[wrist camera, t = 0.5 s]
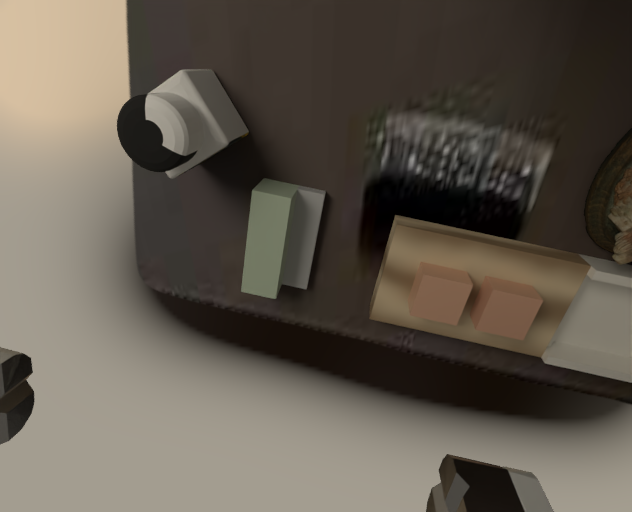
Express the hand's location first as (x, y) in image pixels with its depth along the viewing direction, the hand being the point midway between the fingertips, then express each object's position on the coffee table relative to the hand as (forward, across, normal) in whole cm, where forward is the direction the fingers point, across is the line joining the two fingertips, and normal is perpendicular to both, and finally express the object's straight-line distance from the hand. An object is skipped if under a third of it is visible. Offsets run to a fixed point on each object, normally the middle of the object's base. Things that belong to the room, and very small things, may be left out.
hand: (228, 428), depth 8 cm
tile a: (+36, -12, +9) cm, 39 cm away
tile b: (+36, -20, +9) cm, 42 cm away
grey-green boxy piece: (+39, +5, +8) cm, 40 cm away
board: (+39, -16, +9) cm, 43 cm away
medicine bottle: (+37, +15, -3) cm, 40 cm away
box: (+39, -34, +9) cm, 52 cm away
